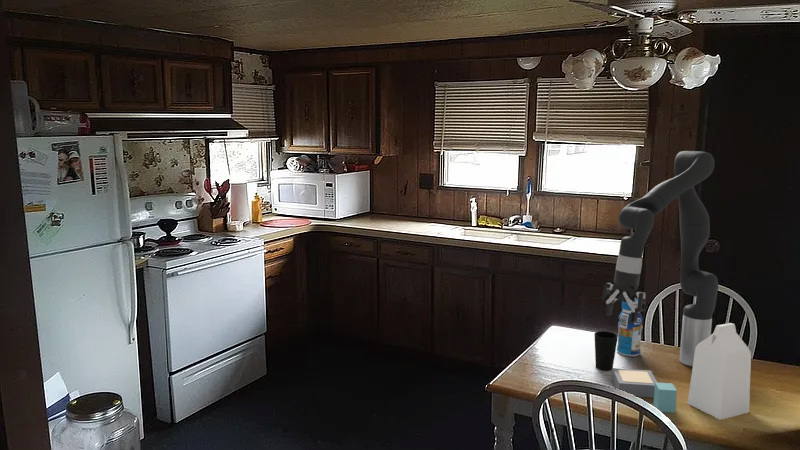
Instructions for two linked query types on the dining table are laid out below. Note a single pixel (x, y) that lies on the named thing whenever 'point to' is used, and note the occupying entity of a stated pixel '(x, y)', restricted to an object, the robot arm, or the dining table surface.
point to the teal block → (665, 397)
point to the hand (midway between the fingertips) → (620, 319)
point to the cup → (605, 349)
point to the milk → (721, 374)
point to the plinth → (634, 381)
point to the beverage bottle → (629, 332)
